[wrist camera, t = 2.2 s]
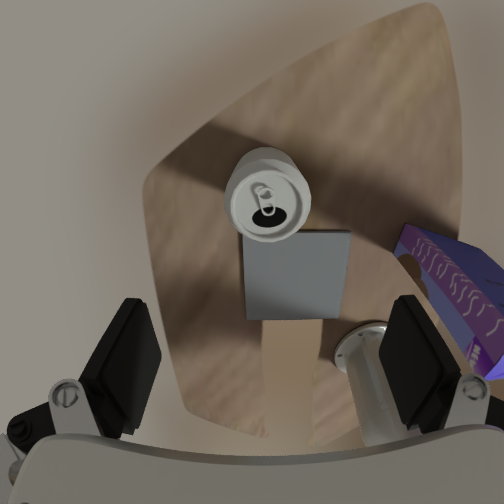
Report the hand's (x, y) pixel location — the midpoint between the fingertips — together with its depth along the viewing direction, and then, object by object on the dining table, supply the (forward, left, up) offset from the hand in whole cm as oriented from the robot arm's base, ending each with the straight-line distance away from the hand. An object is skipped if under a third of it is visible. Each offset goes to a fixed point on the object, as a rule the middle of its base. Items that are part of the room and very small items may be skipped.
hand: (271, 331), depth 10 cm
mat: (-4, +14, -26) cm, 30 cm away
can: (0, 0, -26) cm, 26 cm away
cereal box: (-27, +10, -26) cm, 39 cm away
